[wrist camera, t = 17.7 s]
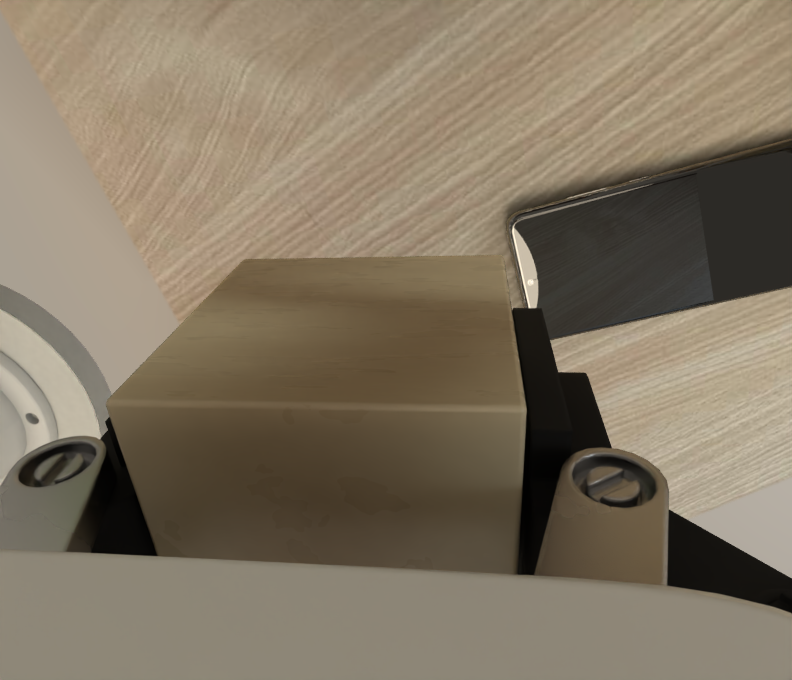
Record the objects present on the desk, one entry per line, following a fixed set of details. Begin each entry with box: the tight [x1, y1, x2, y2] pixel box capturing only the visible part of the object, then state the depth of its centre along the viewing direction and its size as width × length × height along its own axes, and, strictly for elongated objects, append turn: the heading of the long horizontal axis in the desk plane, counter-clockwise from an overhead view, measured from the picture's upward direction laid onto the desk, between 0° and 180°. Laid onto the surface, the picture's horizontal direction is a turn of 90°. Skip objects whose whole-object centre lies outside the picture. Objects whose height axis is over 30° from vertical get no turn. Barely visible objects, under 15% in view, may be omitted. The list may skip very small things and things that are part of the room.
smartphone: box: [506, 138, 792, 340], centre depth 29 cm, size 7×1×16 cm
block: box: [106, 255, 527, 575], centre depth 10 cm, size 5×5×5 cm
